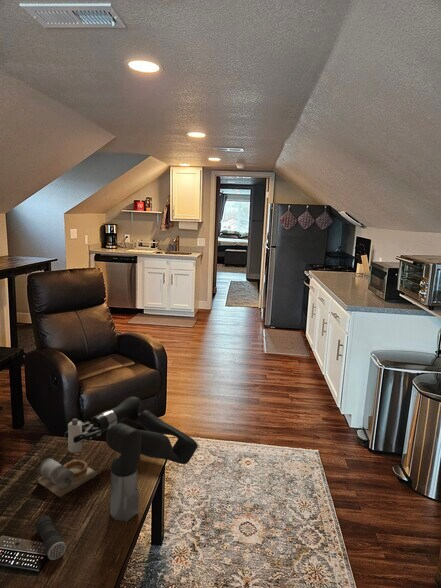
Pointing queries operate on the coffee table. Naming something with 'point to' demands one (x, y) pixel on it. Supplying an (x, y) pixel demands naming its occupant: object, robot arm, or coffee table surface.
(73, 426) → the white capped bottle
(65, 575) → the coffee table surface
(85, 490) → the coffee table surface
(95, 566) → the coffee table surface
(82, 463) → the motor mount
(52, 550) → the flashlight
